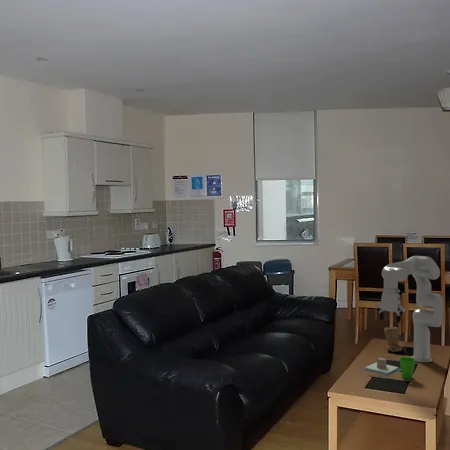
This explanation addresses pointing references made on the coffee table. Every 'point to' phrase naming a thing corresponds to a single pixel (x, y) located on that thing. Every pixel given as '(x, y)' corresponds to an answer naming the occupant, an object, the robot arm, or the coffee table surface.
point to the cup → (407, 367)
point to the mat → (381, 373)
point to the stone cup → (392, 339)
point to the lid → (381, 367)
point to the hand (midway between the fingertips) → (390, 321)
